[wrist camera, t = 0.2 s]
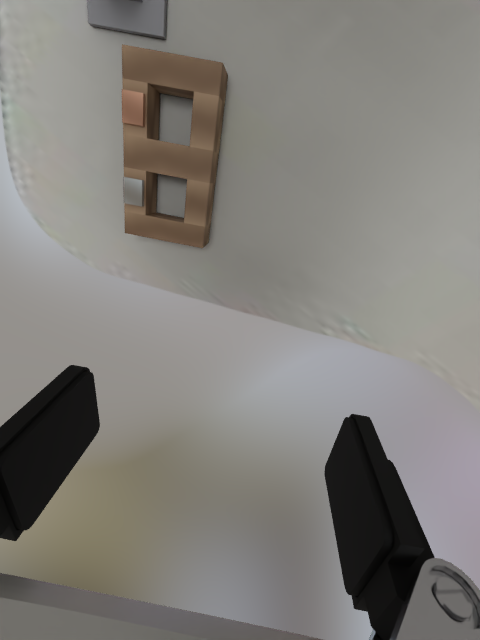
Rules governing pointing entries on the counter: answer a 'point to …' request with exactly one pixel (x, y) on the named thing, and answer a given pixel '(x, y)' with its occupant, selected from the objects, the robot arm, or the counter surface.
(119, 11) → the mat
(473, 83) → the counter surface
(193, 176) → the socket board
